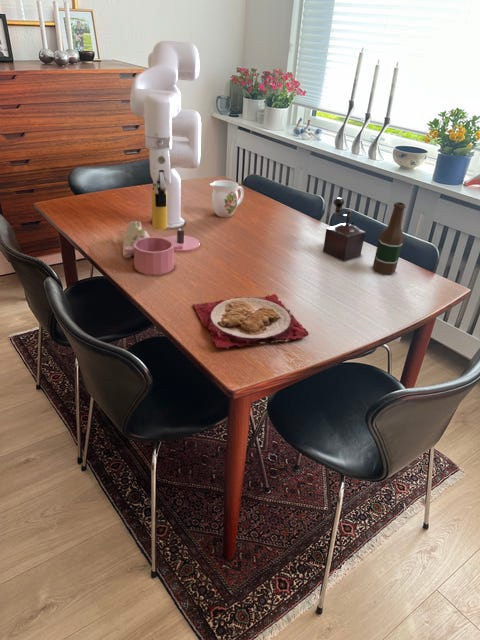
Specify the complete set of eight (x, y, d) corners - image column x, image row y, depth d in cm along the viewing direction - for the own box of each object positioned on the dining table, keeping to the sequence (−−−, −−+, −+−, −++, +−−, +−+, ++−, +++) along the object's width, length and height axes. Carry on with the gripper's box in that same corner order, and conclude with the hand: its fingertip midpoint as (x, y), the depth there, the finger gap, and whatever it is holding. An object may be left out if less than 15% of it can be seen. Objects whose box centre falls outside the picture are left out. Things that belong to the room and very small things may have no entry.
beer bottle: (395, 268, 173) (413, 202, 160) (394, 277, 166) (412, 209, 154) (373, 264, 174) (388, 198, 162) (371, 272, 168) (387, 204, 156)
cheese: (146, 268, 163) (168, 232, 167) (130, 256, 158) (153, 218, 162) (123, 266, 174) (143, 231, 178) (107, 254, 169) (128, 219, 173)
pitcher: (250, 214, 210) (253, 182, 202) (217, 221, 199) (218, 188, 192) (233, 206, 216) (236, 175, 209) (201, 213, 206) (202, 181, 199)
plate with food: (309, 340, 130) (311, 329, 128) (216, 351, 121) (217, 339, 119) (275, 298, 149) (276, 288, 147) (193, 305, 140) (193, 294, 139)
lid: (158, 238, 180) (158, 223, 177) (194, 237, 184) (195, 222, 181) (165, 254, 169) (164, 237, 166) (203, 251, 173) (203, 236, 170)
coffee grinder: (362, 255, 180) (373, 208, 171) (343, 261, 174) (353, 213, 165) (331, 241, 190) (339, 195, 181) (311, 246, 184) (319, 200, 175)
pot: (124, 260, 162) (122, 238, 158) (177, 257, 167) (177, 235, 163) (128, 277, 152) (127, 254, 148) (185, 273, 157) (185, 250, 153)
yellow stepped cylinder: (151, 224, 155) (150, 184, 148) (165, 224, 157) (165, 183, 150) (153, 230, 152) (152, 188, 145) (168, 229, 153) (168, 188, 146)
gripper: (176, 149, 134) (176, 212, 144) (166, 135, 148) (167, 194, 158) (149, 149, 132) (151, 213, 142) (141, 134, 146) (143, 194, 156)
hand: (159, 202), depth 150 cm, fingers closed on yellow stepped cylinder, 4 cm apart
